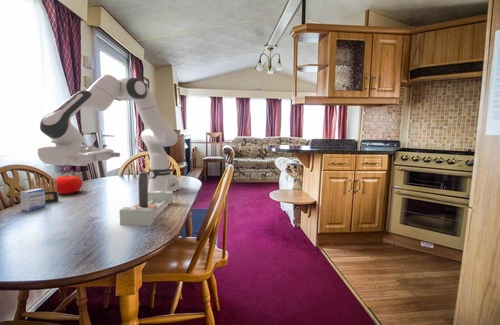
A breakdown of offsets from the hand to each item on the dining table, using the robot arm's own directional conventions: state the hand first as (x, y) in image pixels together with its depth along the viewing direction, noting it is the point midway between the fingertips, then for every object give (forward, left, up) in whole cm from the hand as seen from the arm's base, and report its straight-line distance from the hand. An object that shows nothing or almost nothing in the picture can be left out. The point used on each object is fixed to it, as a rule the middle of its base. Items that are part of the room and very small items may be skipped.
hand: (114, 156), depth 111 cm
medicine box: (+13, -41, -27) cm, 50 cm away
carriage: (-6, +10, -24) cm, 26 cm away
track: (-13, +6, -26) cm, 30 cm away
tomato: (-11, -59, -27) cm, 65 cm away
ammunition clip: (+5, -49, -27) cm, 56 cm away
